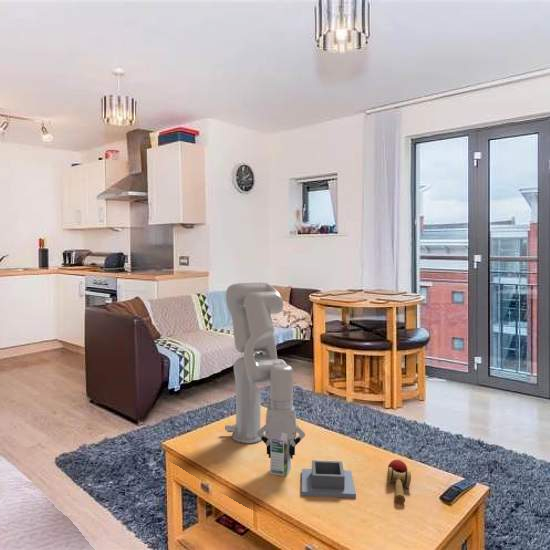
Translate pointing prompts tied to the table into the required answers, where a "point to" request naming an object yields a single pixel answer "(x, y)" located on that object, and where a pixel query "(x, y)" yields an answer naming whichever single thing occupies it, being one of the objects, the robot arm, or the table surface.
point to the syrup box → (280, 456)
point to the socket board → (327, 480)
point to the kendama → (399, 478)
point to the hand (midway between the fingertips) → (280, 456)
